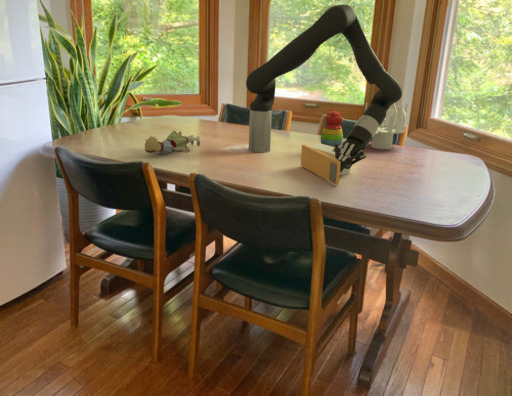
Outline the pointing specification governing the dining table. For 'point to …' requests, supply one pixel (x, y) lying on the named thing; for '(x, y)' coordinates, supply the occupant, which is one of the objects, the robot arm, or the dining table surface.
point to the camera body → (329, 154)
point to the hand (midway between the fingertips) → (336, 171)
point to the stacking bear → (332, 130)
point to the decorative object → (389, 128)
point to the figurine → (170, 143)
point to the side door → (320, 164)
